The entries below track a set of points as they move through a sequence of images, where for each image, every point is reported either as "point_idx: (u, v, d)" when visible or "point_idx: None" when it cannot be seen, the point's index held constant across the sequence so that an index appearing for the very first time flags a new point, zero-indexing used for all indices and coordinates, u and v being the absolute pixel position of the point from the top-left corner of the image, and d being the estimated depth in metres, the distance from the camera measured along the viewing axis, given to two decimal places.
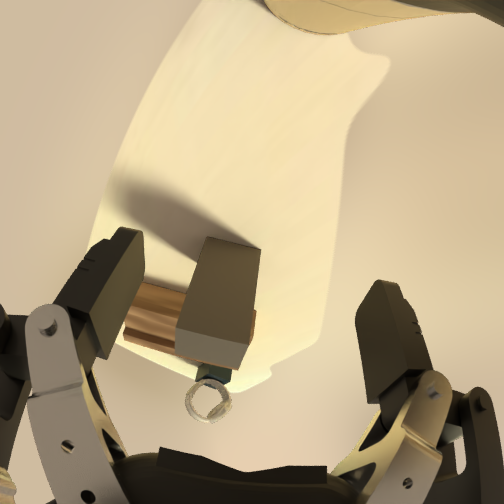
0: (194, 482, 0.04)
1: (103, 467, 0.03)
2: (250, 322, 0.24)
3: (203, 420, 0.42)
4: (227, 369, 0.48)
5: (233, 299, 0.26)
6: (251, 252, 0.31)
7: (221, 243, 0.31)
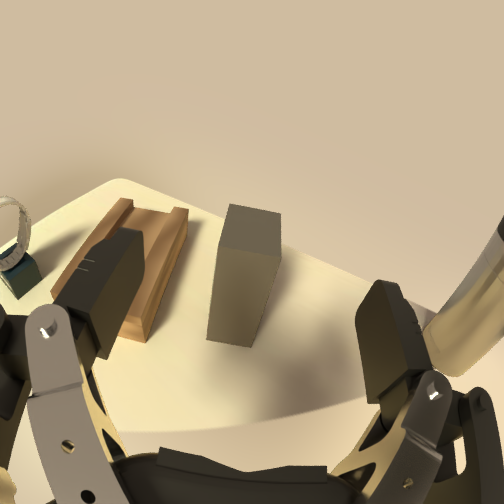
0: (194, 482, 0.04)
1: (103, 467, 0.03)
2: (273, 279, 0.22)
3: None
4: (20, 289, 0.25)
5: None
6: None
7: None
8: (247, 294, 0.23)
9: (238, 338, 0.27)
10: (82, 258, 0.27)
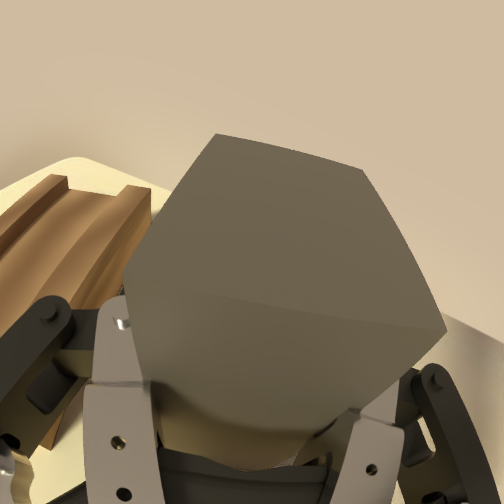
0: (194, 482, 0.04)
1: (150, 470, 0.03)
2: None
3: None
4: None
5: None
6: None
7: None
8: (268, 426, 0.06)
9: (235, 464, 0.10)
10: None
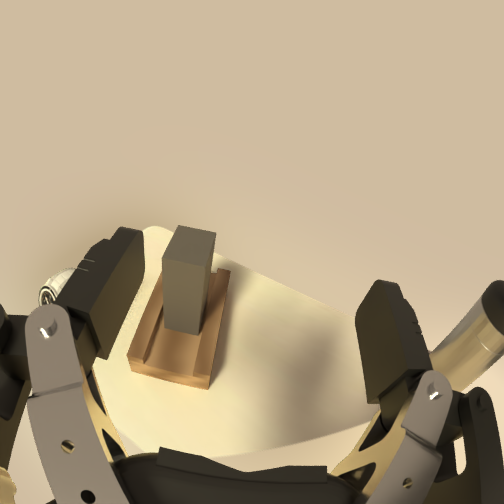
0: (194, 482, 0.04)
1: (103, 467, 0.03)
2: (203, 282, 0.30)
3: (63, 278, 0.28)
4: None
5: (205, 284, 0.33)
6: (200, 326, 0.36)
7: (204, 308, 0.39)
8: (187, 292, 0.31)
9: (187, 327, 0.35)
10: (148, 323, 0.34)
